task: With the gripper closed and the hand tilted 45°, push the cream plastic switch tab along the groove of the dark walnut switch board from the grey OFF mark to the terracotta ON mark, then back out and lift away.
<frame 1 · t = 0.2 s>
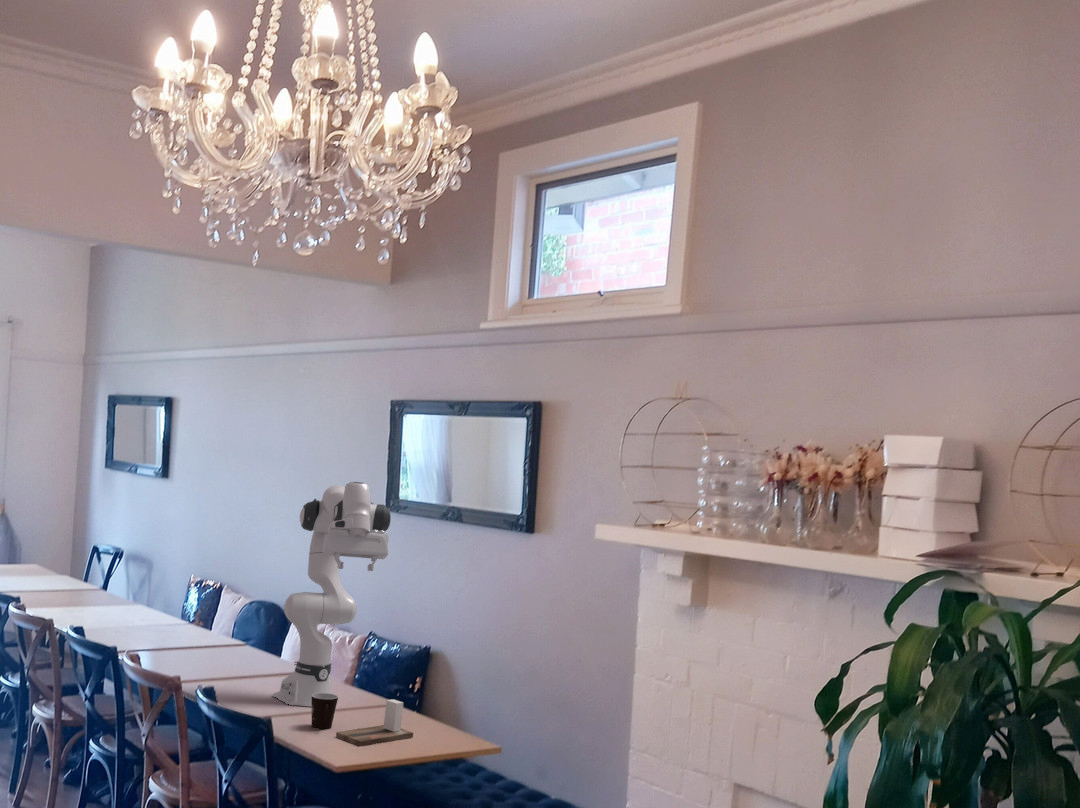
hand: (355, 569, 314), 54 cm above the table, tool tilted 30°, fingers open, 8 cm apart
switch board: (374, 737, 325), on the table
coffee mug: (319, 728, 329), on the table
switch tab: (393, 715, 330), point 6 cm above the table, slide at 0.0 cm
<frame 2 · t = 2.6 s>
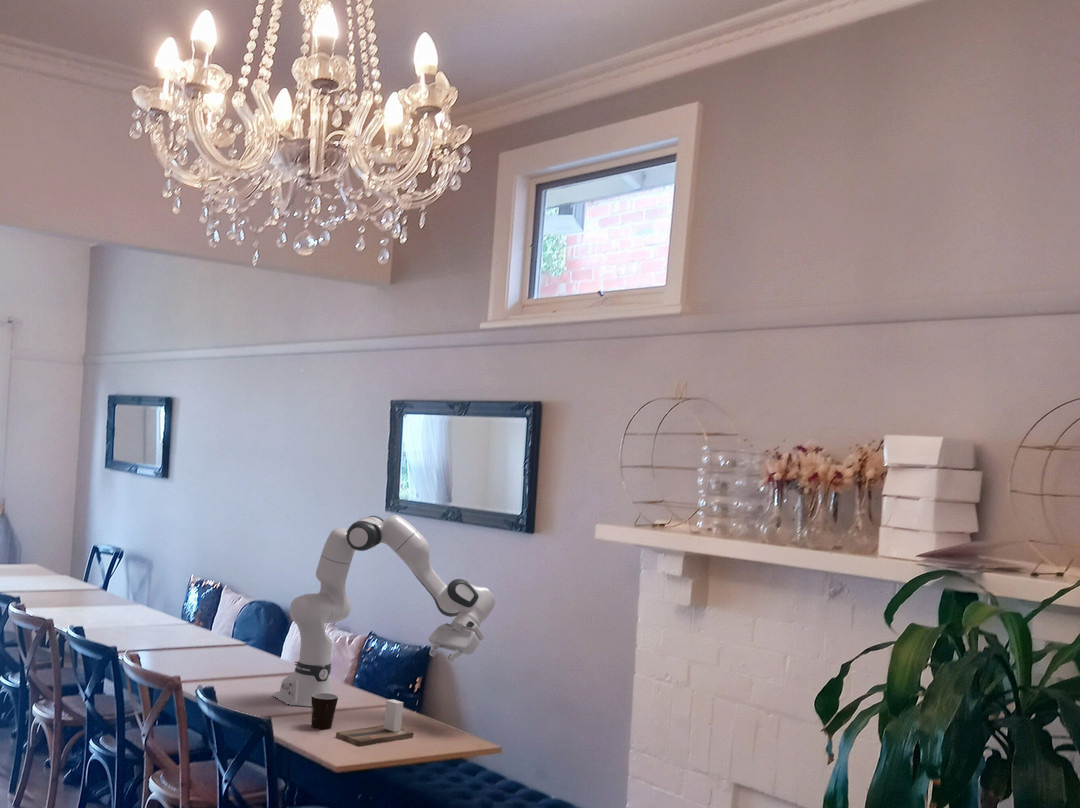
hand: (440, 657, 345), 24 cm above the table, tool tilted 45°, fingers open, 8 cm apart
nothing on the table moved.
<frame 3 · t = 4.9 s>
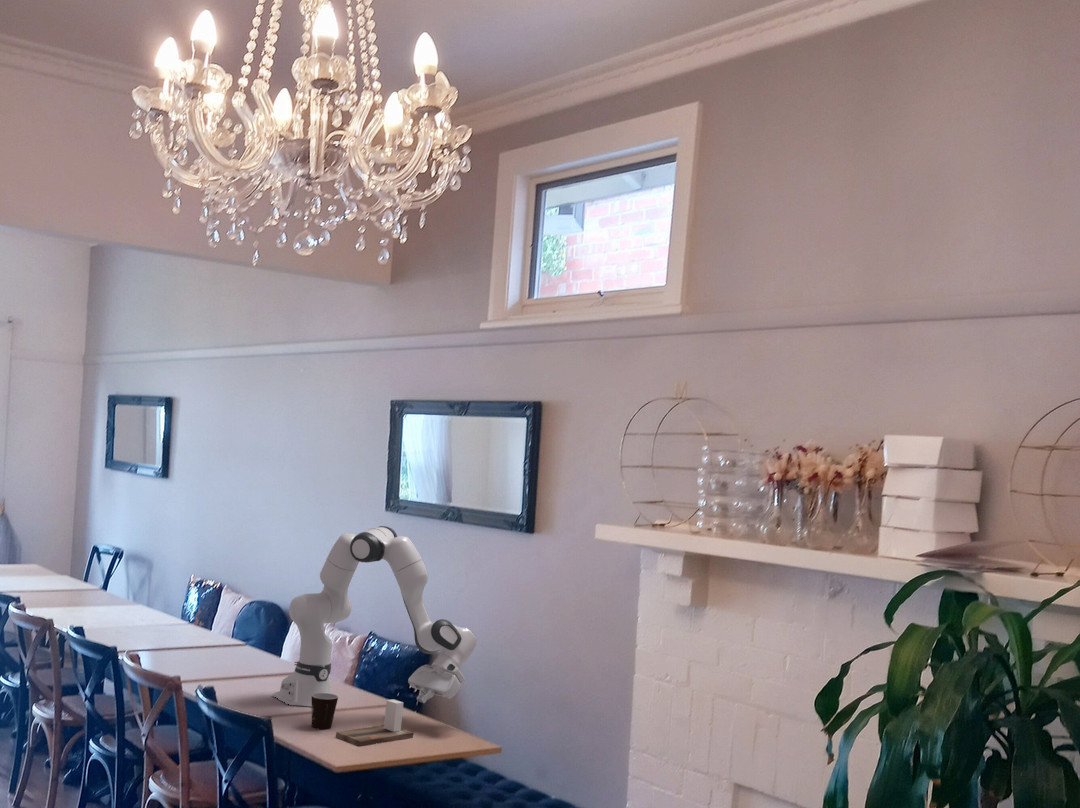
hand: (420, 701, 339), 10 cm above the table, tool tilted 45°, fingers closed
nothing on the table moved.
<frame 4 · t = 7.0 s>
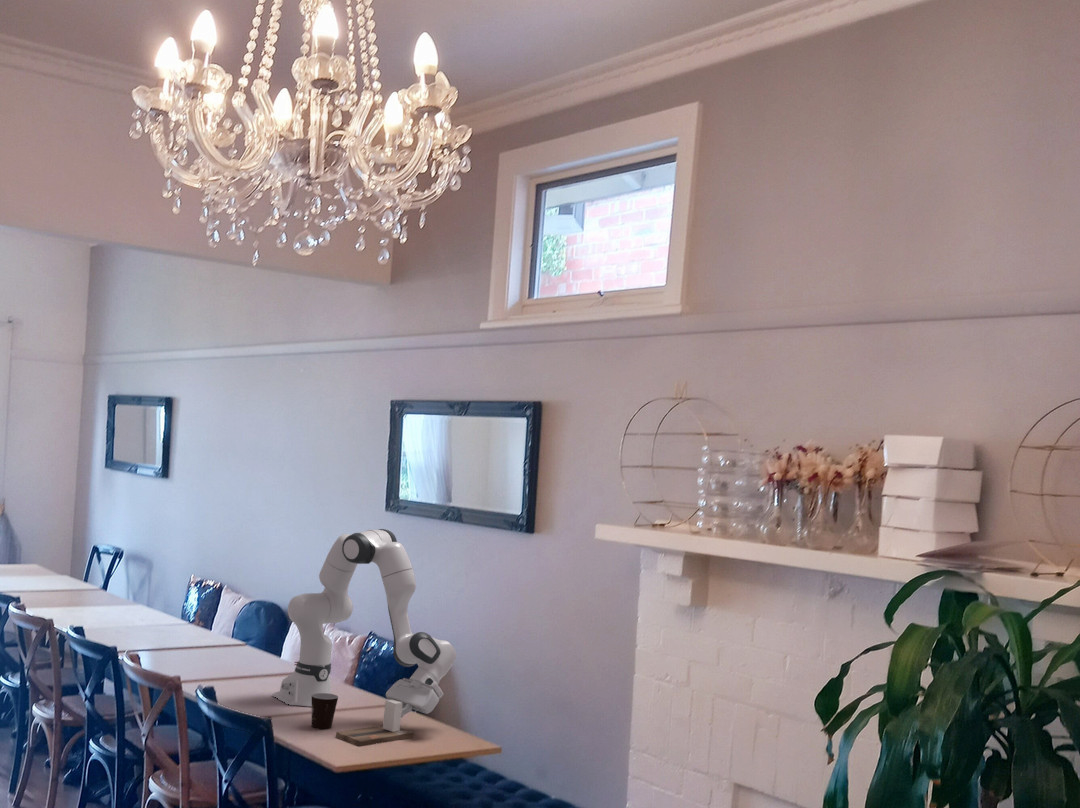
hand: (397, 716, 332), 6 cm above the table, tool tilted 45°, fingers closed, pressing on switch tab
switch tab: (392, 715, 330), point 6 cm above the table, slide at 0.4 cm, touching gripper
everything else where it was.
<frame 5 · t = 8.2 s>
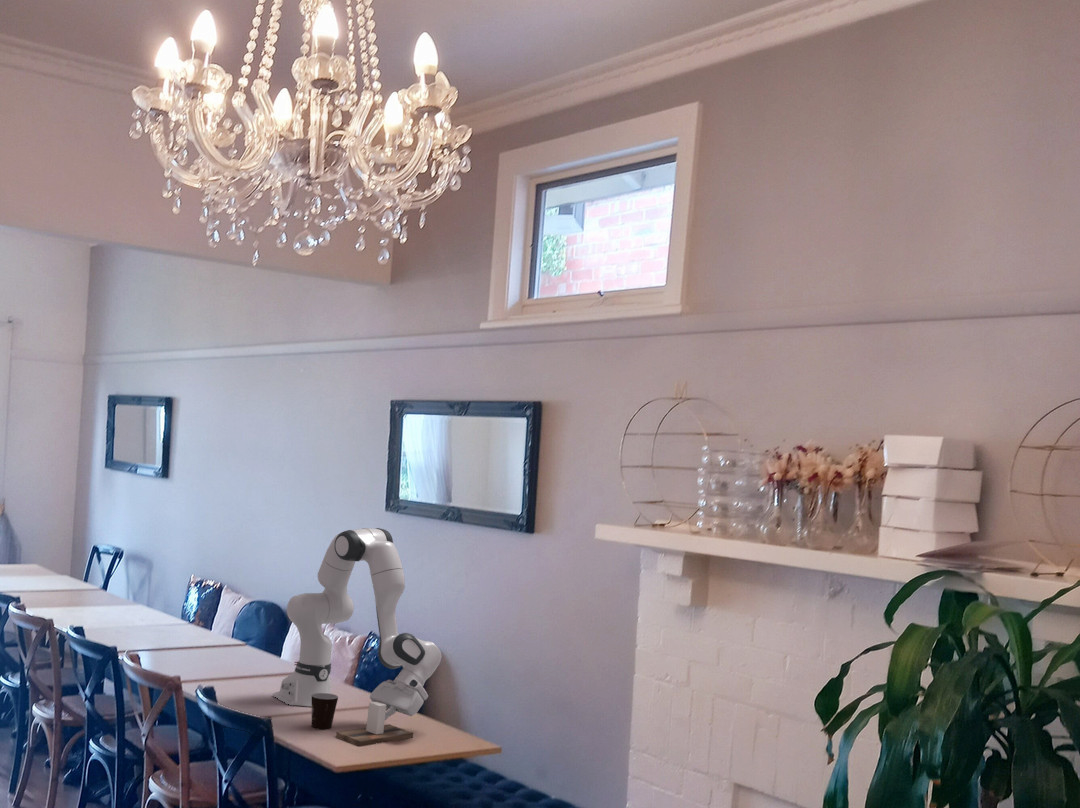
hand: (381, 718, 326), 6 cm above the table, tool tilted 45°, fingers closed, pressing on switch tab
switch tab: (376, 717, 325), point 6 cm above the table, slide at 7.3 cm, touching gripper
everything else where it was.
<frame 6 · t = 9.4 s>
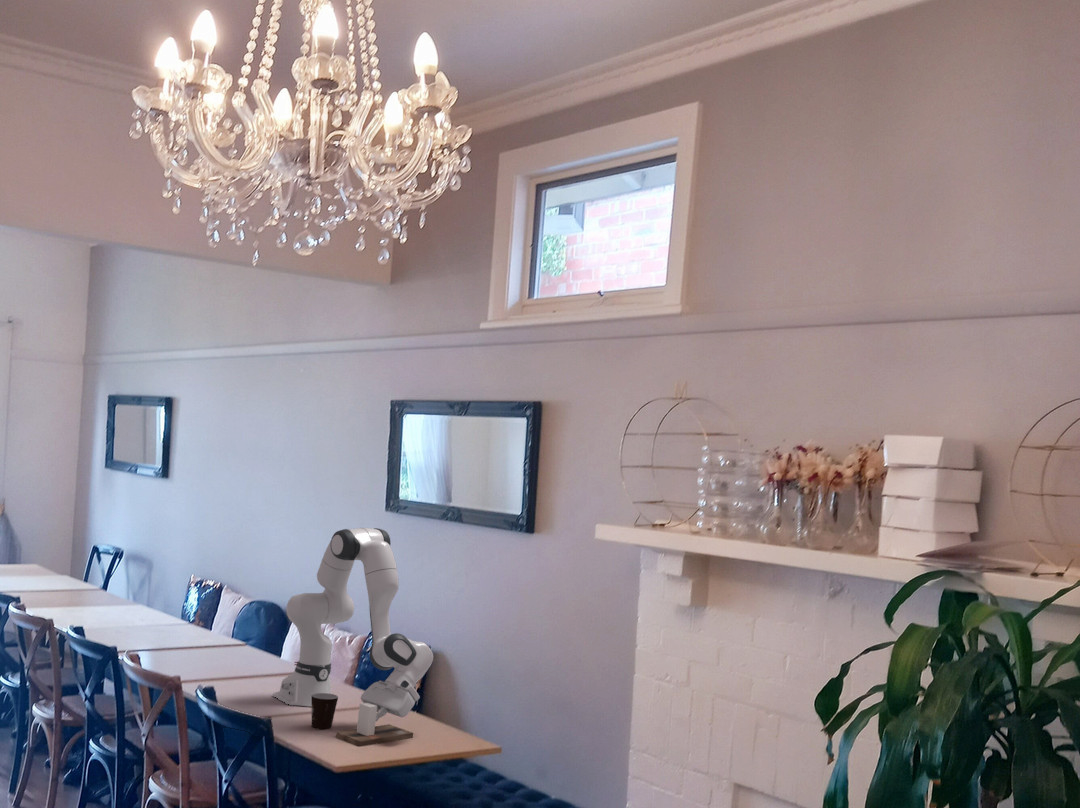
hand: (371, 719, 324), 6 cm above the table, tool tilted 45°, fingers closed, pressing on switch tab
switch tab: (366, 719, 322), point 6 cm above the table, slide at 11.2 cm, touching gripper
everything else where it was.
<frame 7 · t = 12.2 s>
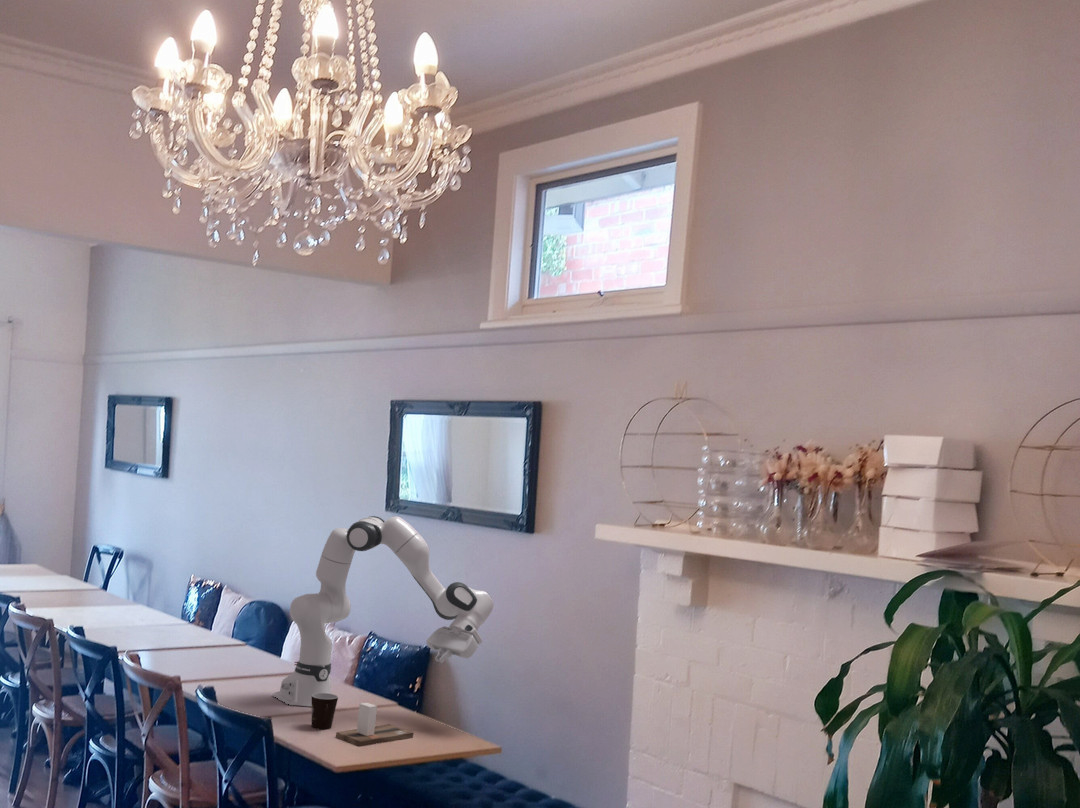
hand: (438, 660, 345), 23 cm above the table, tool tilted 45°, fingers closed
switch tab: (366, 719, 322), point 6 cm above the table, slide at 11.2 cm
everything else where it was.
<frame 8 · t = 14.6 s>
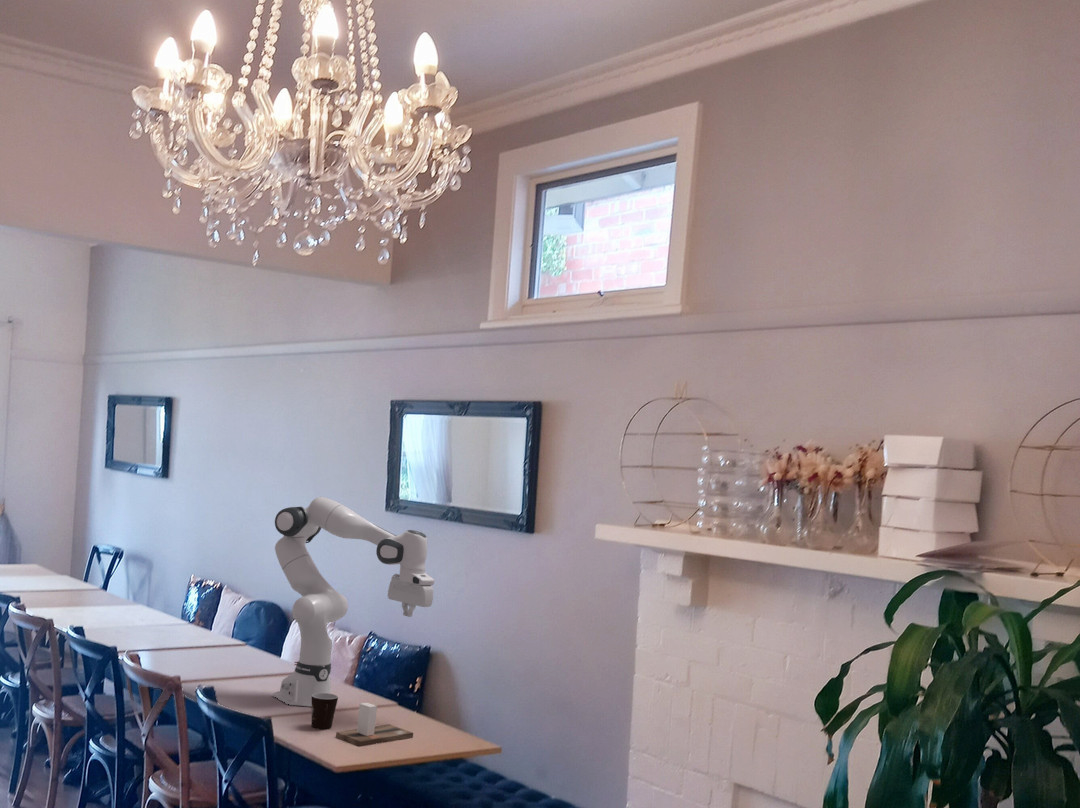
hand: (407, 616, 357), 35 cm above the table, tool pointing down, fingers closed
nothing on the table moved.
at the end: switch tab slide at 11.2 cm; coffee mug moved 0.2 cm from its start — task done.
